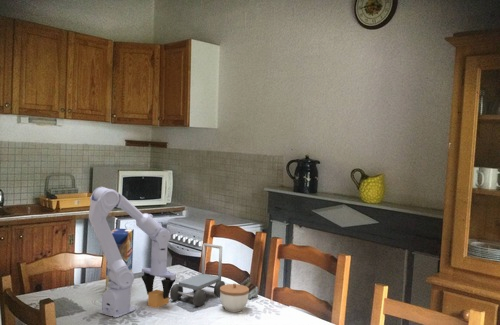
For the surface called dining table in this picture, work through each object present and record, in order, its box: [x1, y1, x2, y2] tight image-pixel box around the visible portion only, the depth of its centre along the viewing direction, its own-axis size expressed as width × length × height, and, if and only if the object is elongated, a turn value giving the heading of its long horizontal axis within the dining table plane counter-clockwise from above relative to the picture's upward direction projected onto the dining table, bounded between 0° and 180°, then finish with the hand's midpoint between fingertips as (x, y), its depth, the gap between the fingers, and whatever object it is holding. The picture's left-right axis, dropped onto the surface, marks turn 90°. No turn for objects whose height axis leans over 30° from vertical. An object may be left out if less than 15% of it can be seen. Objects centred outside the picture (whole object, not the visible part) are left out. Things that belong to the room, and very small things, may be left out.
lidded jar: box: [219, 283, 249, 313], centre depth 173 cm, size 11×11×9 cm
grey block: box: [239, 276, 259, 301], centre depth 188 cm, size 10×7×12 cm
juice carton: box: [105, 227, 135, 291], centre depth 186 cm, size 12×8×24 cm, turn 2°
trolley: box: [169, 242, 226, 307], centre depth 183 cm, size 20×12×20 cm, turn 151°
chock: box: [147, 289, 170, 309], centre depth 174 cm, size 7×4×5 cm, turn 151°
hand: (157, 295), depth 174 cm, fingers open, 7 cm apart
